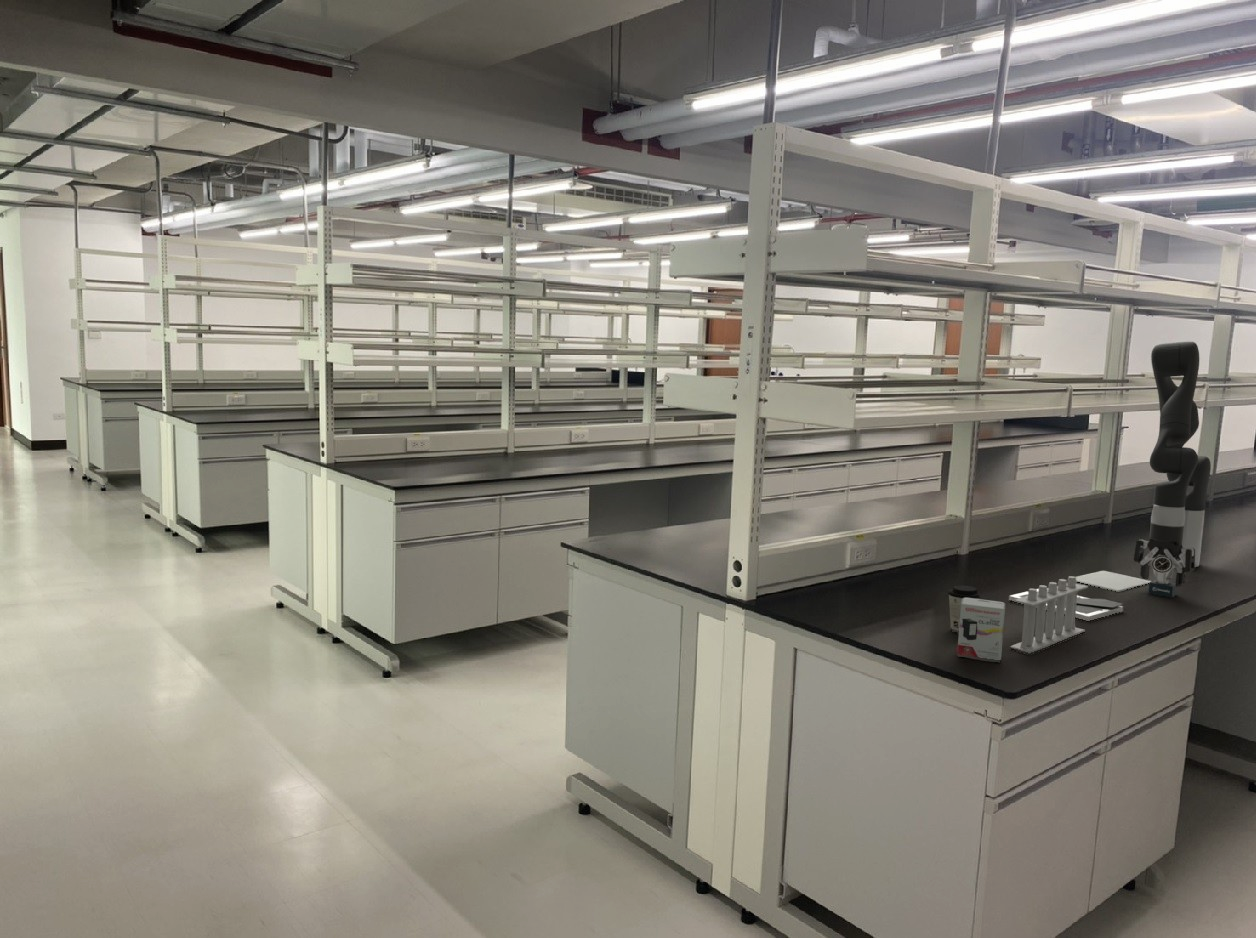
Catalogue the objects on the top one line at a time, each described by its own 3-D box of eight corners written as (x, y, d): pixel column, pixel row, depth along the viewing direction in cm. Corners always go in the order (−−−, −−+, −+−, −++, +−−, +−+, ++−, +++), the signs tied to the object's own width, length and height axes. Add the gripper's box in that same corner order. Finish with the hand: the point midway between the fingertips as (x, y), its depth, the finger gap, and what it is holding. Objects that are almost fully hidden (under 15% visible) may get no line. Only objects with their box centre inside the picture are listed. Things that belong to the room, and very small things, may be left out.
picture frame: (1122, 614, 222) (1043, 595, 239) (1123, 603, 222) (1044, 584, 239) (1088, 624, 213) (1008, 603, 230) (1089, 613, 213) (1009, 592, 230)
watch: (1146, 595, 237) (1149, 554, 236) (1155, 589, 243) (1158, 549, 241) (1170, 599, 233) (1174, 558, 232) (1178, 594, 239) (1182, 553, 237)
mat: (1102, 572, 261) (1102, 570, 261) (1152, 583, 250) (1152, 581, 250) (1067, 580, 251) (1068, 578, 251) (1118, 592, 240) (1118, 590, 240)
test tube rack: (1065, 628, 208) (1070, 572, 207) (1084, 633, 205) (1089, 576, 203) (1009, 649, 193) (1014, 589, 191) (1029, 655, 190) (1034, 594, 188)
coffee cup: (952, 635, 201) (955, 592, 200) (940, 626, 208) (943, 584, 207) (983, 635, 202) (986, 592, 200) (970, 626, 209) (972, 584, 207)
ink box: (956, 657, 187) (959, 602, 186) (957, 650, 192) (961, 596, 190) (1000, 664, 184) (1004, 608, 182) (1001, 656, 188) (1005, 601, 187)
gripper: (1203, 525, 232) (1197, 586, 234) (1146, 516, 244) (1141, 574, 246) (1189, 528, 228) (1183, 590, 230) (1132, 519, 240) (1126, 578, 242)
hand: (1161, 582), depth 238 cm, fingers open, 8 cm apart
